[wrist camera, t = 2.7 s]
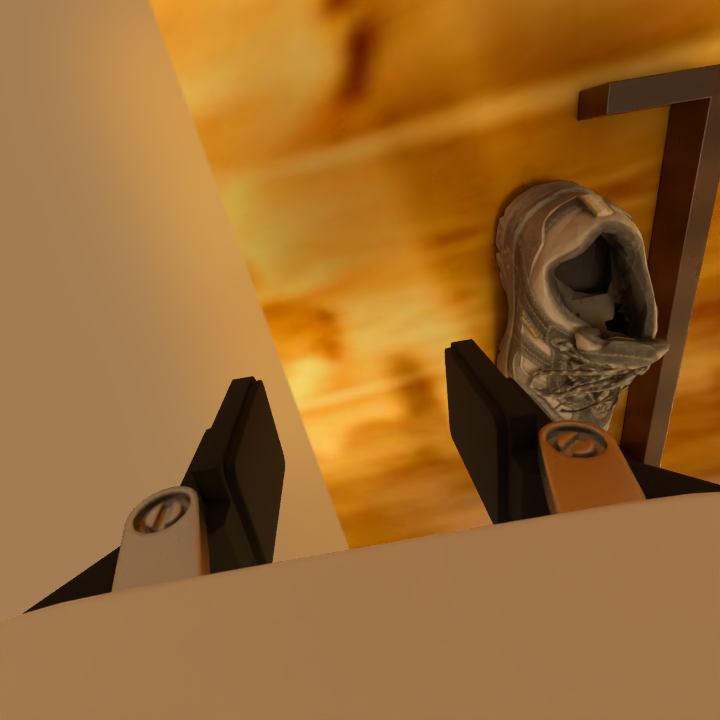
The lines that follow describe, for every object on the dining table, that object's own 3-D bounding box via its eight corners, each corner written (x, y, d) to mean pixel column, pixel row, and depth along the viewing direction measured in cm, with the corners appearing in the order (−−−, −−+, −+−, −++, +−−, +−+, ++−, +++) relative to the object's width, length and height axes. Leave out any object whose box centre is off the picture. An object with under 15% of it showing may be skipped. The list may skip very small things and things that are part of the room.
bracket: (579, 91, 26) (609, 82, 23) (700, 71, 26) (744, 60, 23) (554, 470, 39) (571, 492, 36) (634, 456, 39) (658, 477, 36)
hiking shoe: (496, 463, 35) (654, 531, 25) (439, 215, 28) (623, 169, 18) (561, 412, 39) (720, 453, 29) (524, 184, 32) (714, 132, 22)
